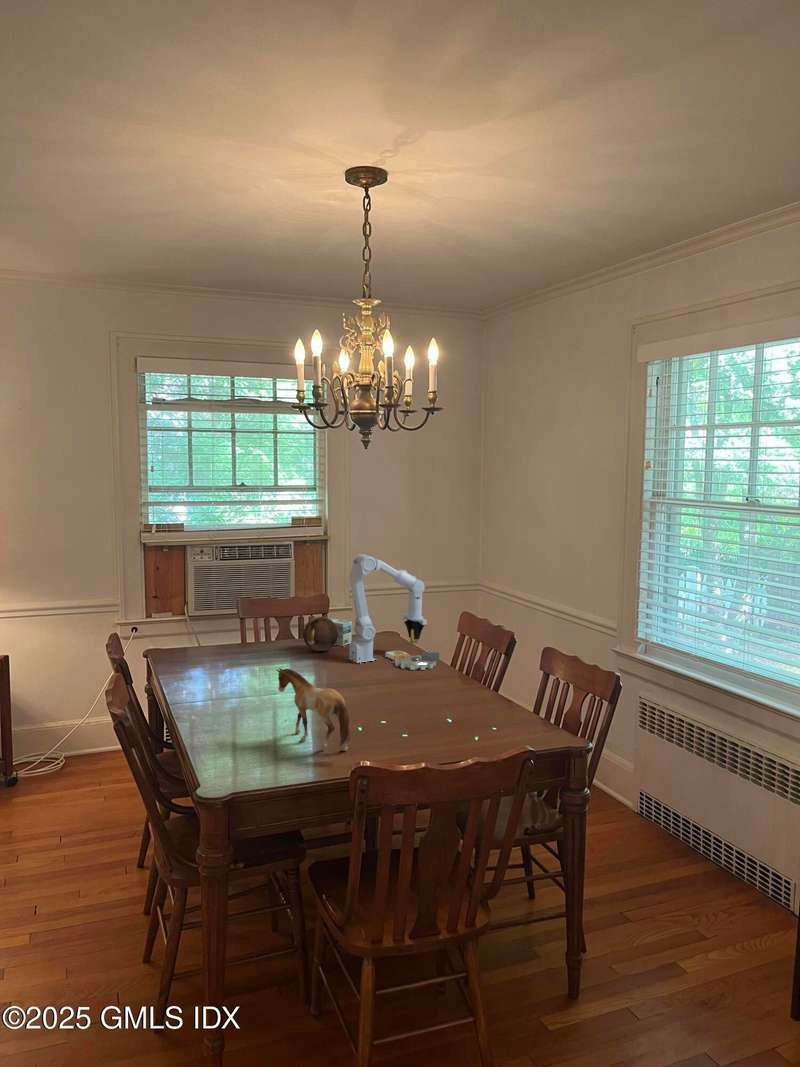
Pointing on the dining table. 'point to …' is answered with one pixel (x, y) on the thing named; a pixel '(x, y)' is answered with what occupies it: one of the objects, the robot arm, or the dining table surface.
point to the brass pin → (413, 637)
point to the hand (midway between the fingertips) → (414, 638)
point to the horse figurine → (316, 705)
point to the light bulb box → (343, 631)
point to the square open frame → (395, 654)
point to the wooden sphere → (320, 634)
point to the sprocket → (418, 661)
